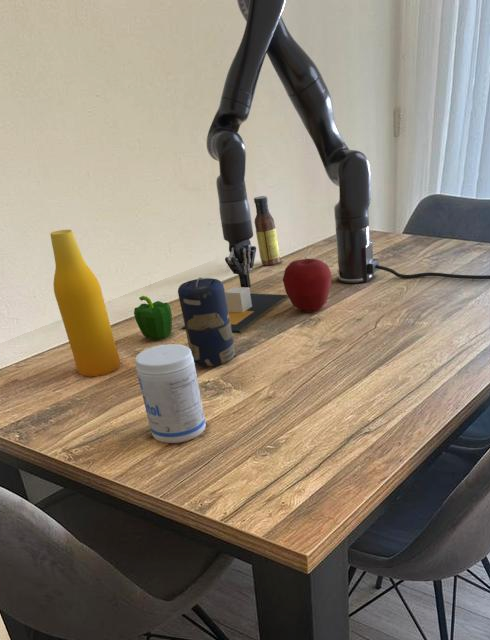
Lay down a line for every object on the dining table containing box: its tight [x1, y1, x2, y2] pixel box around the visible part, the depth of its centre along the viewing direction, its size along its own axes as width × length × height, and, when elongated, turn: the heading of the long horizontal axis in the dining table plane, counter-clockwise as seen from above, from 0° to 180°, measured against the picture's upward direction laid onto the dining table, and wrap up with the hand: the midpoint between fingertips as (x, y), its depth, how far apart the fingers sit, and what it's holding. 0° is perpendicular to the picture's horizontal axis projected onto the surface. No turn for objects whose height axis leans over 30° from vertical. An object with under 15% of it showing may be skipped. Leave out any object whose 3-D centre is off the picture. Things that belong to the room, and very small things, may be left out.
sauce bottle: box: [253, 195, 281, 266], centre depth 208 cm, size 7×6×20 cm
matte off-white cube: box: [224, 286, 252, 313], centre depth 173 cm, size 5×5×5 cm
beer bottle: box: [49, 229, 121, 377], centre depth 140 cm, size 9×9×29 cm
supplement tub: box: [134, 343, 207, 444], centre depth 115 cm, size 10×10×15 cm
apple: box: [282, 256, 332, 313], centre depth 167 cm, size 12×12×13 cm
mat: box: [182, 293, 288, 334], centre depth 174 cm, size 16×28×1 cm, turn 158°
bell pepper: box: [133, 295, 173, 341], centre depth 160 cm, size 8×8×10 cm
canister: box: [177, 277, 236, 367], centre depth 141 cm, size 10×10×18 cm
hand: (246, 288), depth 176 cm, fingers closed
